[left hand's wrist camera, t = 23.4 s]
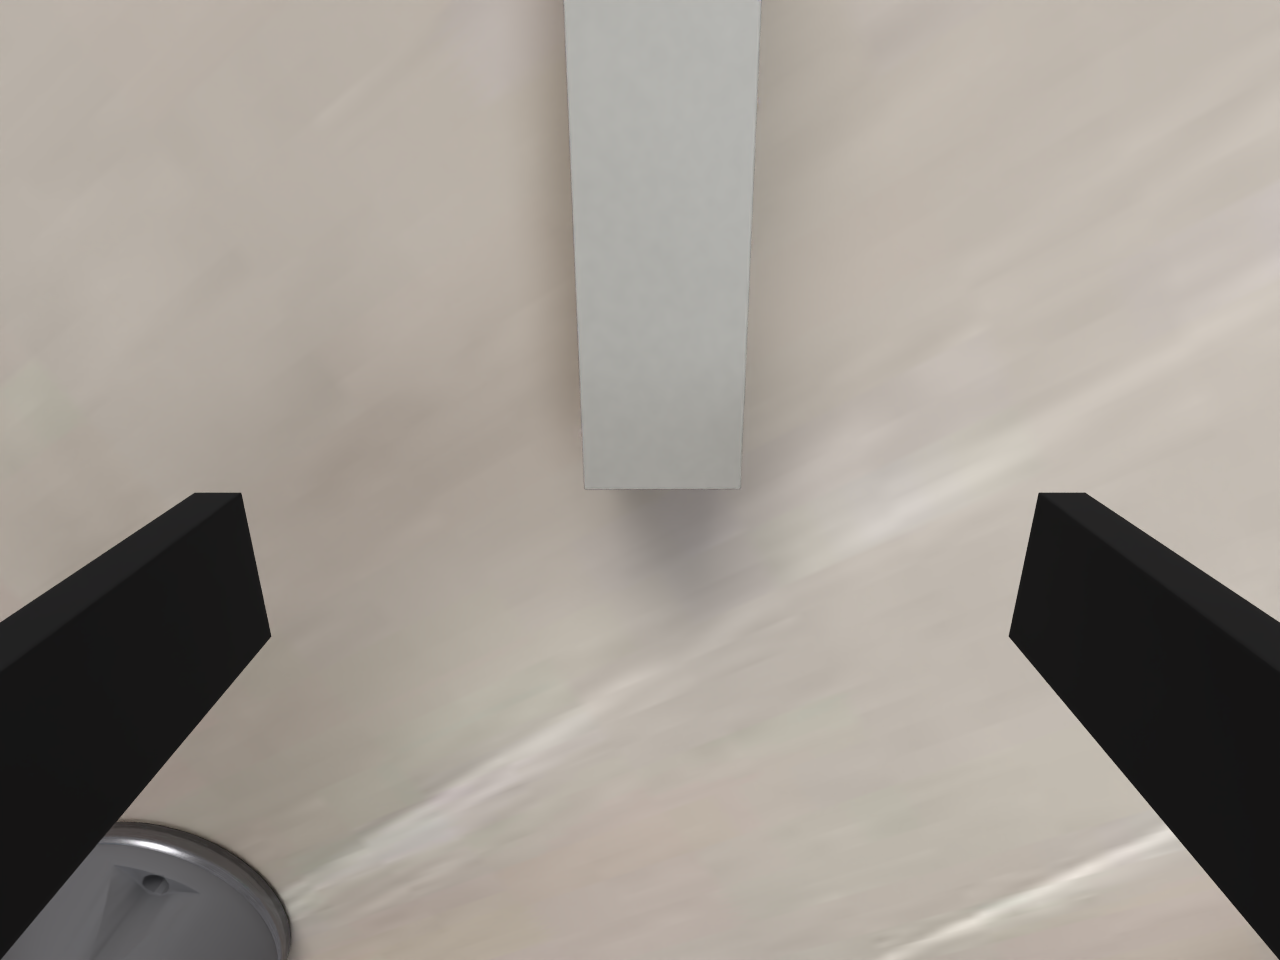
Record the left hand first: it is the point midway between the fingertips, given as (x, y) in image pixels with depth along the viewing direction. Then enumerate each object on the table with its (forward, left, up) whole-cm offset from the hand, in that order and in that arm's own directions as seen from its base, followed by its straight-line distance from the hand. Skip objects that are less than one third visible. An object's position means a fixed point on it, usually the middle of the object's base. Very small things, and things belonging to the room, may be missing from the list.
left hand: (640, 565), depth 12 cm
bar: (+4, +9, -19) cm, 22 cm away
